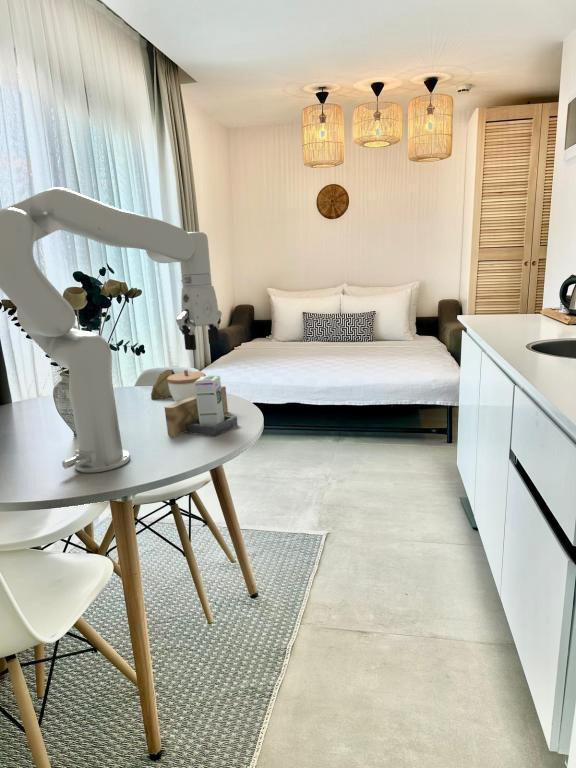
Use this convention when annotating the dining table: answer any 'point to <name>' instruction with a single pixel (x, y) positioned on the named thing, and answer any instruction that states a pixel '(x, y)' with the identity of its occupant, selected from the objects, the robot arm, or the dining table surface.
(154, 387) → the rock
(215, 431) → the tray
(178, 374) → the lidded bowl
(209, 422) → the syrup box
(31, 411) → the dining table surface
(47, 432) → the dining table surface
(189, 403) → the board
